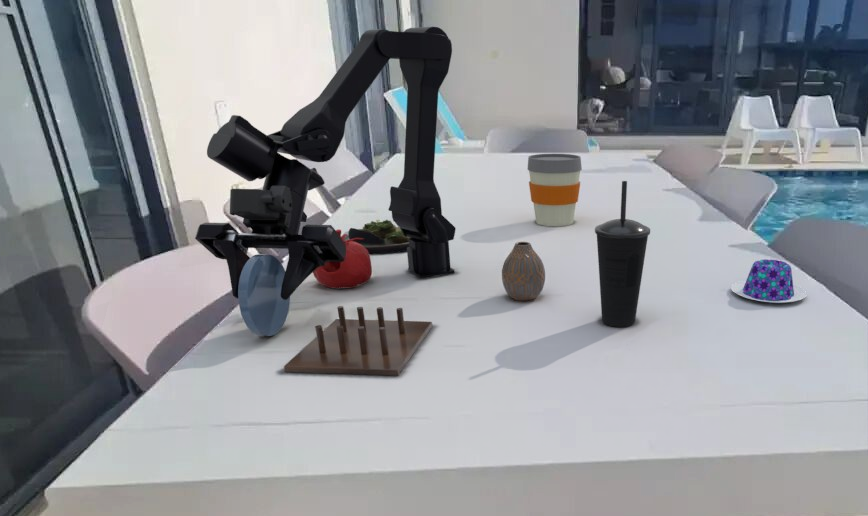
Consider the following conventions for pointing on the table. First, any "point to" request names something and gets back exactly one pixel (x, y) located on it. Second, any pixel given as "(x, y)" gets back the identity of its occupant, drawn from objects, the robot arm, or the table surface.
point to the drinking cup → (620, 266)
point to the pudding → (769, 283)
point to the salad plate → (379, 237)
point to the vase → (523, 273)
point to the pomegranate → (346, 267)
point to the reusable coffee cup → (554, 187)
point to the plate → (263, 295)
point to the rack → (361, 345)
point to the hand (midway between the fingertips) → (259, 297)
